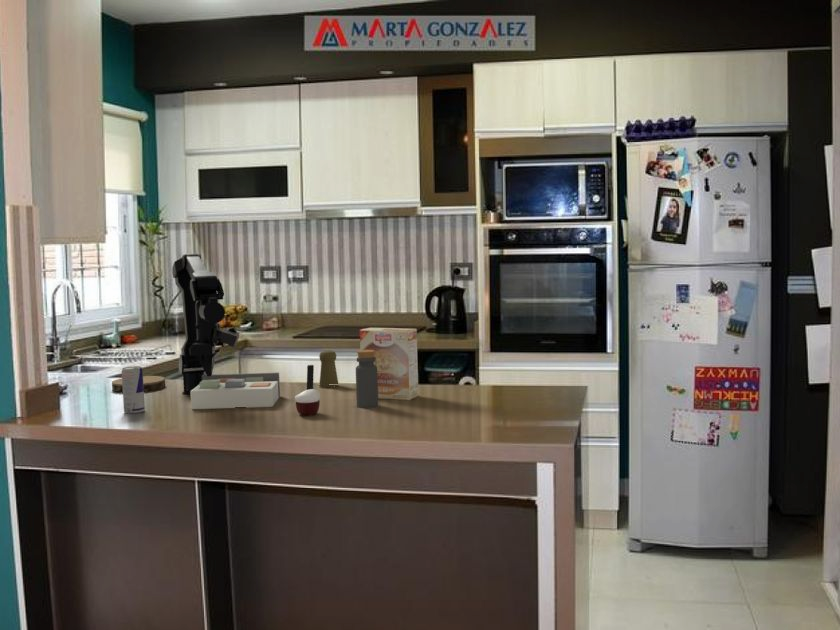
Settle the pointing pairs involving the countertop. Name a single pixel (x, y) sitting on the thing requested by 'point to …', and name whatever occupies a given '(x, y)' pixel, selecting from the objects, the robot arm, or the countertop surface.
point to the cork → (328, 369)
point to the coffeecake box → (393, 360)
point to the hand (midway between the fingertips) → (209, 376)
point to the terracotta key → (260, 385)
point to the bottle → (366, 380)
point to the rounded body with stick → (308, 396)
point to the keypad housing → (237, 392)
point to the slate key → (235, 383)
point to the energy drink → (133, 389)
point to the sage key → (210, 384)
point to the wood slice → (148, 382)
